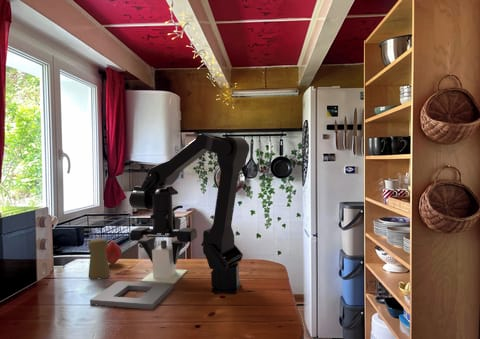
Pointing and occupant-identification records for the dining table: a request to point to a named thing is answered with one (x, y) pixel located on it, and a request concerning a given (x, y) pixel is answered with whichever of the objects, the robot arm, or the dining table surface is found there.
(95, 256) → the olive green tapered block
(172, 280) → the mat
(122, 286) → the gray rectangular frame
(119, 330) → the dining table surface
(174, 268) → the plug
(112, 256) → the onion
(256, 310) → the dining table surface
